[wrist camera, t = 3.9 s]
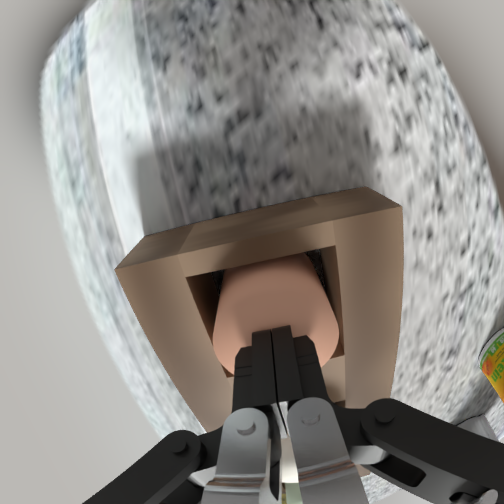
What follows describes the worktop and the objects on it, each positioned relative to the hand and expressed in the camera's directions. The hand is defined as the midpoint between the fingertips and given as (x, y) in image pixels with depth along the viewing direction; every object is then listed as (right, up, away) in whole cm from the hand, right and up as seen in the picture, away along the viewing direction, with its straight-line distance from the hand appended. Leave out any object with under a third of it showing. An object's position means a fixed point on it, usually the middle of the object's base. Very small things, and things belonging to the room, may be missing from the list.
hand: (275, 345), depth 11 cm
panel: (+2, -7, +9) cm, 11 cm away
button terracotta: (0, +2, +4) cm, 5 cm away
